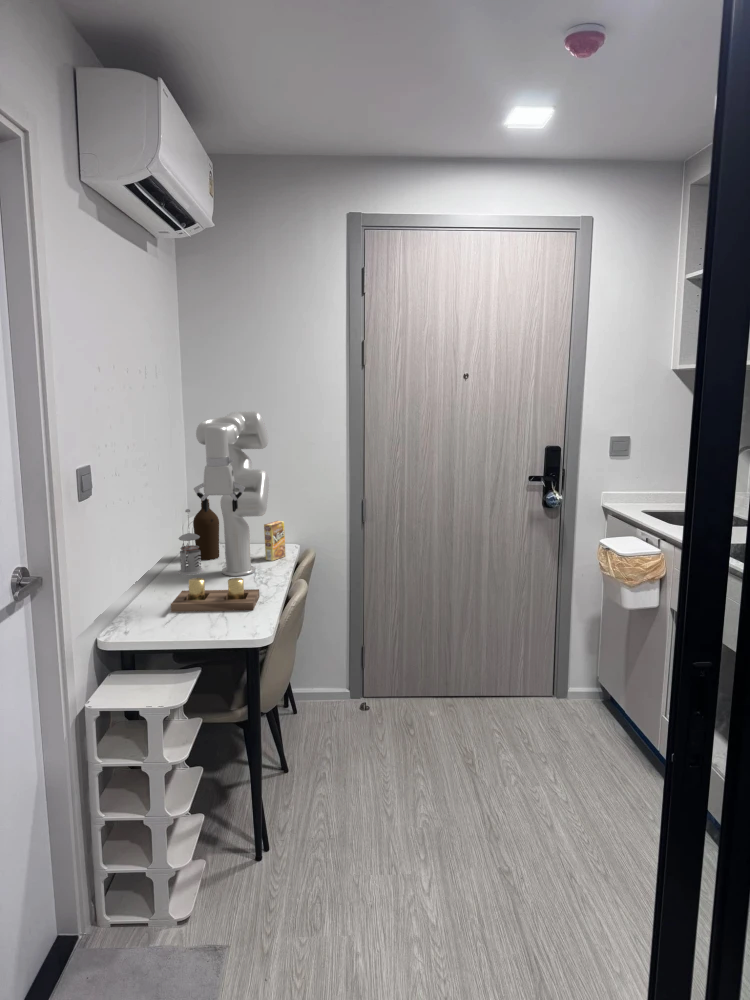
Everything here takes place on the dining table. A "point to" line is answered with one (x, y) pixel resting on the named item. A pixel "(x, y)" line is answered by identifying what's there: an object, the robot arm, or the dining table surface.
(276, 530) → the candy box
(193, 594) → the billet
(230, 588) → the seated billet
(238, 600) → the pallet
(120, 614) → the dining table surface
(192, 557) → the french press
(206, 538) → the olive oil
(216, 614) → the dining table surface
